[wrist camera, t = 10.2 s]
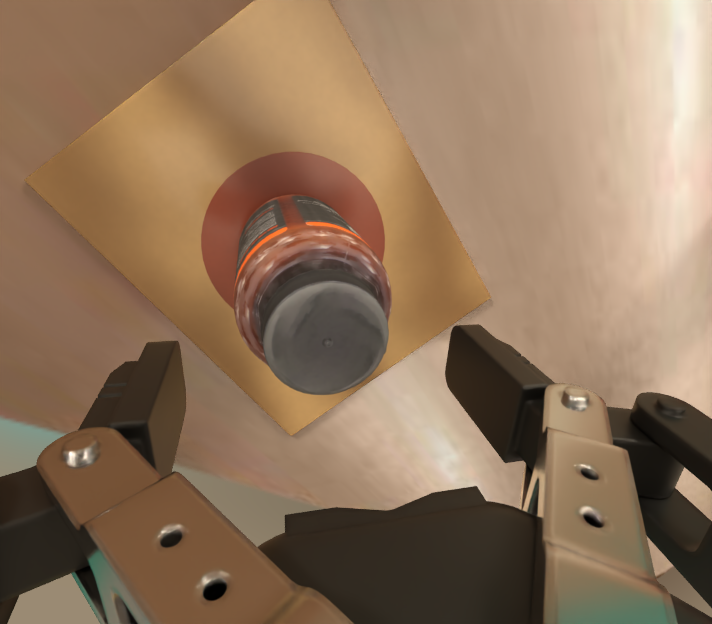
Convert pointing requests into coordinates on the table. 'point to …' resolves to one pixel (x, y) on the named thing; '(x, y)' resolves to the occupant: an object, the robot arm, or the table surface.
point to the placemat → (260, 186)
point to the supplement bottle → (311, 296)
